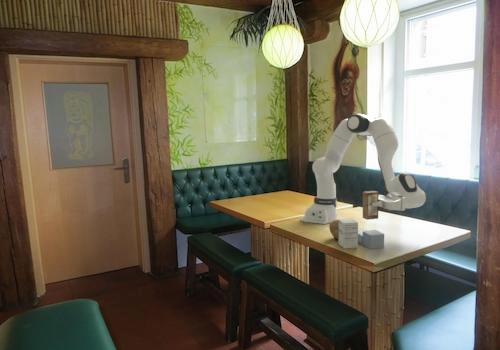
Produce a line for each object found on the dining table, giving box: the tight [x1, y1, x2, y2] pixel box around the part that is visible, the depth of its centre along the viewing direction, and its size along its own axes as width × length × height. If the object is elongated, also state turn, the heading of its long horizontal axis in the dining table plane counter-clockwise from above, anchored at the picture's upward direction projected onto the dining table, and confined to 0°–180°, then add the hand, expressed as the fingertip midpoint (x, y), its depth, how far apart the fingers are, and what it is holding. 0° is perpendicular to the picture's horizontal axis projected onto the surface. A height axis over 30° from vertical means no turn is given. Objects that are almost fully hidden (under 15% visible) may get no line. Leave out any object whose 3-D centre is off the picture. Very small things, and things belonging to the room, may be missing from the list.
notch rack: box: [358, 229, 385, 250], centre depth 188 cm, size 7×16×6 cm, turn 13°
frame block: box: [362, 190, 379, 220], centre depth 185 cm, size 6×4×13 cm, turn 103°
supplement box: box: [338, 218, 359, 249], centre depth 184 cm, size 7×7×13 cm
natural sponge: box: [328, 219, 339, 240], centre depth 196 cm, size 9×9×10 cm
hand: (368, 203), depth 185 cm, fingers closed on frame block, 4 cm apart
